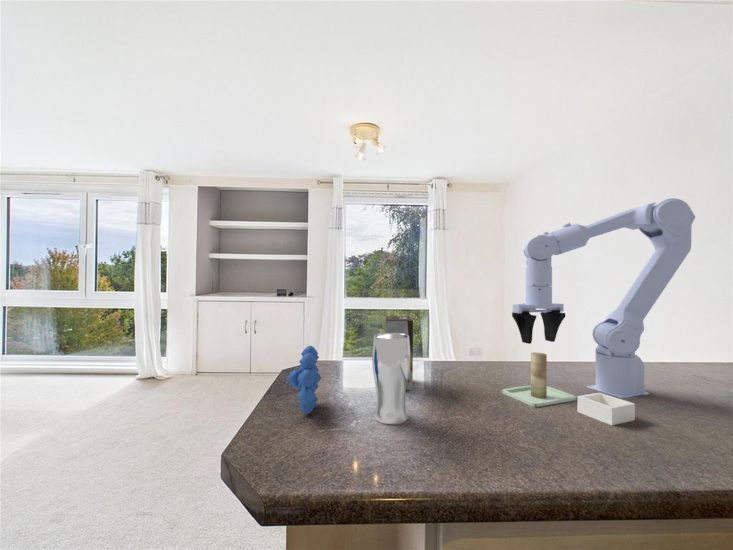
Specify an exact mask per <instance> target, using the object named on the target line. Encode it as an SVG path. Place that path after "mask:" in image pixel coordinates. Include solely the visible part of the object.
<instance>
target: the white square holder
mask: <svg viewBox="0 0 733 550" xmlns="http://www.w3.org/2000/svg"><path fill="white" fill-rule="evenodd" d="M576 396H577V400H576V401H577V407H576V408H577V413H579V414H582V415H584V416H587V417H590V418H592V419H595V420H597V421H600V422H602V423H605V424H607V425H609V426H615V425H619V424H621V425H622V424H624V423H630V422H633V421H636V404H635V403H634V402H632V401H631V402H630V401H628V400H624V399H623V398H620V397H616V396H615V397H614V396H613V395H610V394H607V393H604V392H596V393H595V392H593V393H589V394H583V395H576Z"/></svg>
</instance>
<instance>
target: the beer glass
mask: <svg viewBox="0 0 733 550" xmlns="http://www.w3.org/2000/svg"><path fill="white" fill-rule="evenodd" d="M371 356H372V357H371V358H372V359H371V360H372V361H371V362H372V364H371V365H372V374H373V380H374V386H375V391H376V393H375V394H376V405H375V410H374V419H375V420H376V421H377V422H378V423H381V424H384V425H388V426H389V425H392V426H393V425H394V426H395V425H396V426H397V425H401V424H404V423H406V421H407V420H408V411H407V403H406V397H407V396H406V394H407V390H406V389H407V383H408V377H409V371H410V343H409V336H408V335H406V334H400V333H385V332H382V333H375V334H373V343H372V355H371Z"/></svg>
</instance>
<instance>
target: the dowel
mask: <svg viewBox="0 0 733 550" xmlns="http://www.w3.org/2000/svg"><path fill="white" fill-rule="evenodd" d="M547 355H548V354H547V353H543V352H536V351H535V352H533V351H532V352H531V353H530V385H531V396H533V397H535V398H541V399H544V398H547V386H548V385H547V381H548V380H547V379H548V377H547V375H548V374H547V372H548V369H547V367H548V364H547V362H548V360H547V357H548V356H547Z"/></svg>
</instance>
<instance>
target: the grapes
mask: <svg viewBox="0 0 733 550" xmlns="http://www.w3.org/2000/svg"><path fill="white" fill-rule="evenodd" d="M300 355H301V356H302V357H301V359H300V360H299V361H298V363H300V364H299V366H298V369H294V370H292V371H291V372H290V373H289V374H288V376H287V377H286V380H287V382H288V383H289V385H290V386H291V387H292V388H297V393H298V394H297V398H298V400H299V403H298V406H299V409H301V411H302V412H303V413H304V414H310V413H311V412H313V410H314V409H315V407H316V405H317V402H318V398H317V394H316V393H315V392H316V391H317V389H318V388H319V385H318V384H319V382H321V380H322V377H321V375H320V372H319V370H320V369H319V368H318V366H317V365H316V364H317V362H318V360H319V358H320V357H319V352H318V351H317V350H316V349H315V347H314V346H312V345H308V346H306V347H305V348H304V349H303V351H302V352H301V354H300Z"/></svg>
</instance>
